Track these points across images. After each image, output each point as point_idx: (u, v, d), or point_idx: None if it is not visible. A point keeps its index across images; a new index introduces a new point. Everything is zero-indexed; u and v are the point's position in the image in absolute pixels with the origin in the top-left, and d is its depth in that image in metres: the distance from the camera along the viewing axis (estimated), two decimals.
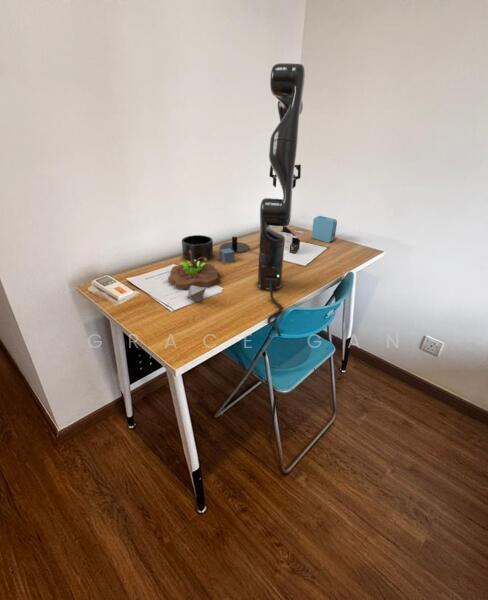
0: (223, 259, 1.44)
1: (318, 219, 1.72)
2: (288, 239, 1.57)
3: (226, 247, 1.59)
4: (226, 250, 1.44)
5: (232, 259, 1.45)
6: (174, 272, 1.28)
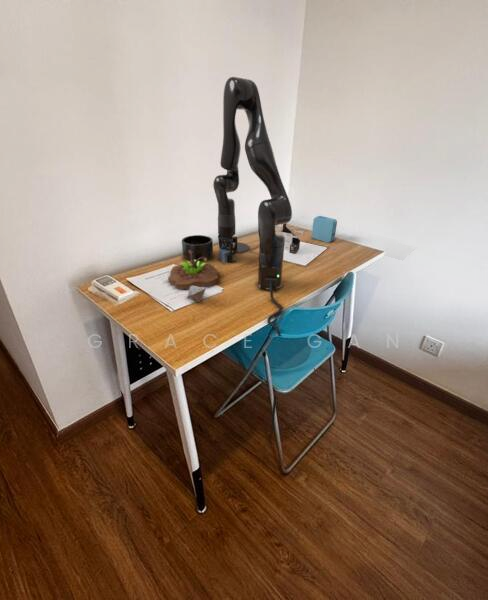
0: (223, 259, 1.44)
1: (318, 219, 1.72)
2: (288, 239, 1.57)
3: None
4: (226, 250, 1.44)
5: (232, 259, 1.45)
6: (174, 272, 1.28)
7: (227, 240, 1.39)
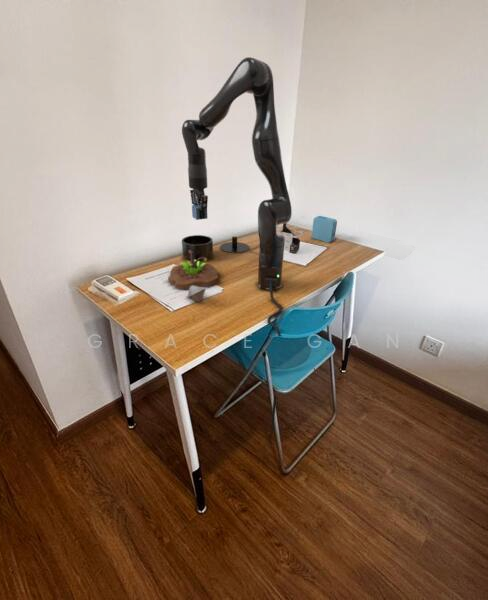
0: (195, 215, 1.37)
1: (318, 219, 1.72)
2: (288, 239, 1.57)
3: (226, 247, 1.59)
4: (198, 205, 1.38)
5: (205, 215, 1.38)
6: (174, 272, 1.28)
7: (198, 193, 1.32)
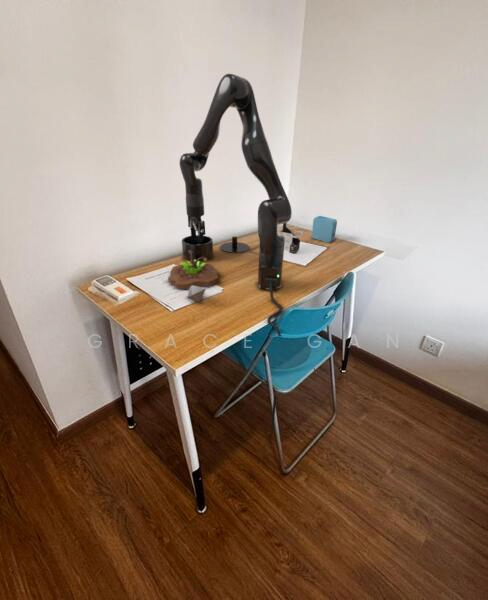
0: None
1: (318, 219, 1.72)
2: (288, 239, 1.57)
3: (226, 247, 1.59)
4: None
5: None
6: (174, 272, 1.28)
7: (195, 220, 1.38)
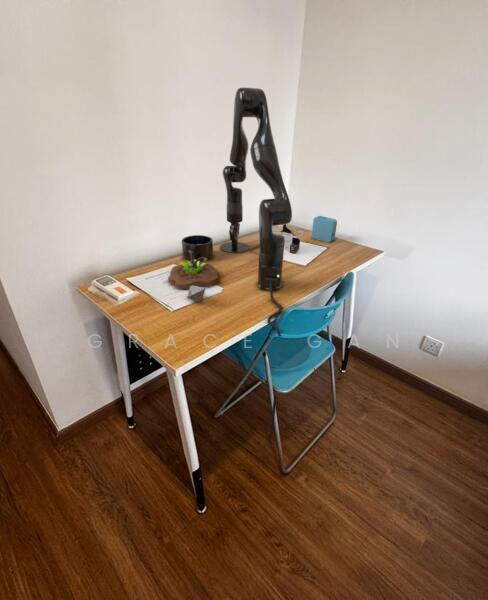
0: None
1: (318, 219, 1.72)
2: (288, 239, 1.57)
3: (226, 247, 1.59)
4: None
5: None
6: (174, 272, 1.28)
7: (231, 226, 1.52)
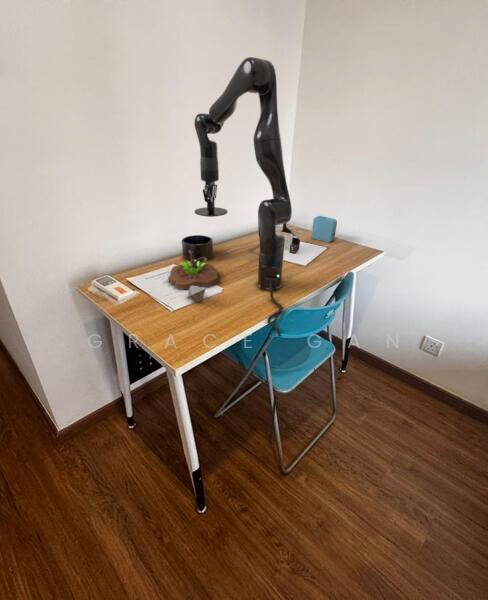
0: None
1: (318, 219, 1.72)
2: (288, 239, 1.57)
3: (201, 211, 1.42)
4: None
5: None
6: (174, 272, 1.28)
7: None
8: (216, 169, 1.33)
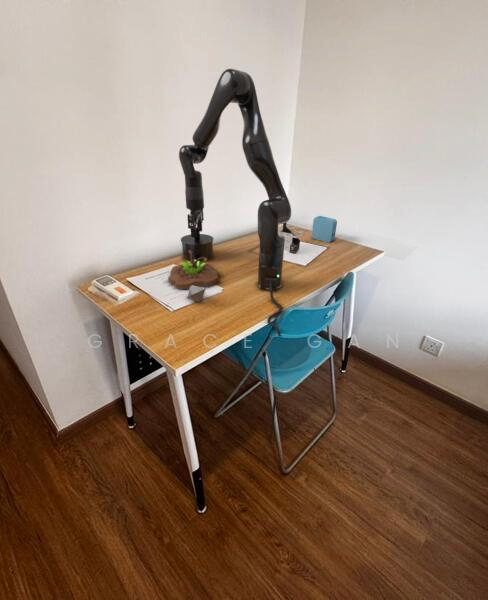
0: None
1: (318, 219, 1.72)
2: (288, 239, 1.57)
3: (187, 239, 1.44)
4: None
5: None
6: (174, 272, 1.28)
7: None
8: (201, 198, 1.34)
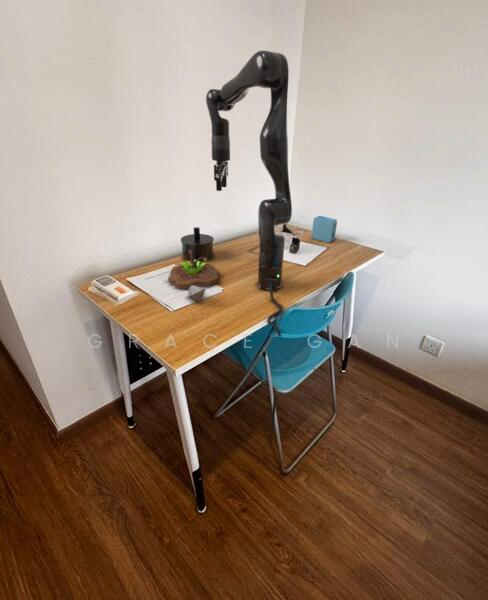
0: None
1: (318, 219, 1.72)
2: (288, 239, 1.57)
3: (187, 239, 1.44)
4: None
5: None
6: (174, 272, 1.28)
7: None
8: (228, 148, 1.30)
